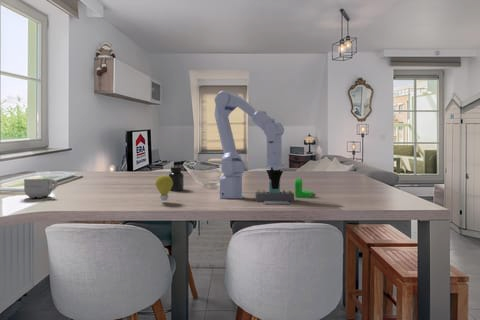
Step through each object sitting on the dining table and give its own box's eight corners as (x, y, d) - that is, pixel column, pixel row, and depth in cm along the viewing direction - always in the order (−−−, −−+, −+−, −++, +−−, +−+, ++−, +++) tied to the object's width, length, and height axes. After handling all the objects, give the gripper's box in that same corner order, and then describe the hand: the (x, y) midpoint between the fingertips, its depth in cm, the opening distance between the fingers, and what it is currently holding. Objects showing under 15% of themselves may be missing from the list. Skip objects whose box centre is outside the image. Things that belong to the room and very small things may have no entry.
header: (256, 201, 150) (256, 191, 150) (255, 199, 157) (255, 189, 157) (294, 201, 150) (294, 191, 150) (291, 199, 157) (291, 189, 157)
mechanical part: (309, 198, 162) (309, 179, 162) (295, 197, 164) (295, 178, 164) (313, 195, 174) (313, 177, 174) (300, 195, 176) (300, 177, 176)
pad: (264, 204, 141) (264, 203, 141) (263, 201, 149) (263, 200, 149) (289, 204, 141) (289, 203, 141) (287, 201, 149) (287, 200, 149)
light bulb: (158, 201, 150) (158, 175, 150) (153, 199, 156) (153, 174, 156) (175, 200, 153) (175, 175, 153) (169, 199, 159) (169, 174, 159)
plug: (269, 201, 151) (269, 180, 151) (268, 199, 156) (268, 179, 156) (280, 201, 151) (280, 180, 151) (279, 199, 156) (279, 179, 156)
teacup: (18, 198, 163) (17, 178, 163) (40, 195, 173) (40, 177, 173) (42, 199, 158) (42, 179, 158) (64, 196, 168) (64, 178, 168)
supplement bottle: (181, 192, 188) (181, 166, 188) (185, 193, 182) (185, 167, 182) (167, 192, 185) (167, 167, 185) (171, 193, 179) (170, 167, 179)
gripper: (286, 153, 146) (286, 189, 146) (282, 153, 161) (282, 186, 161) (267, 153, 146) (267, 189, 146) (265, 153, 161) (265, 186, 161)
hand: (274, 188), depth 153 cm, fingers open, 7 cm apart
